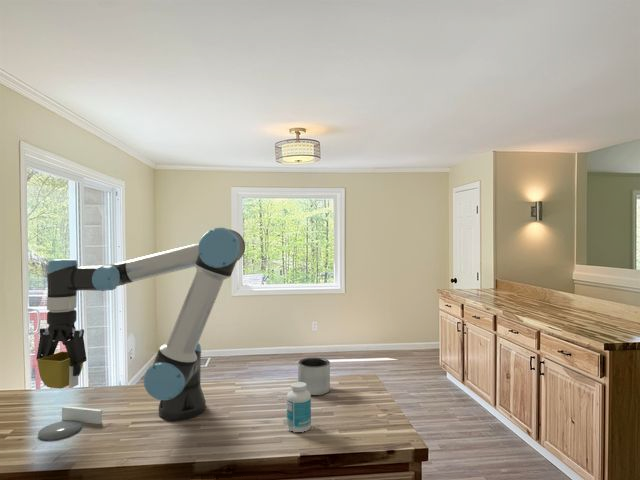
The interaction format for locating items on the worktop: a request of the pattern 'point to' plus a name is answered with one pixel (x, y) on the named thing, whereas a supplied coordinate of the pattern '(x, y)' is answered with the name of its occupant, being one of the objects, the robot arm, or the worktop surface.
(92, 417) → the wall
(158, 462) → the worktop surface
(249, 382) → the worktop surface
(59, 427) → the coaster
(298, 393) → the pill bottle
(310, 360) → the planter
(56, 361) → the flower pot
